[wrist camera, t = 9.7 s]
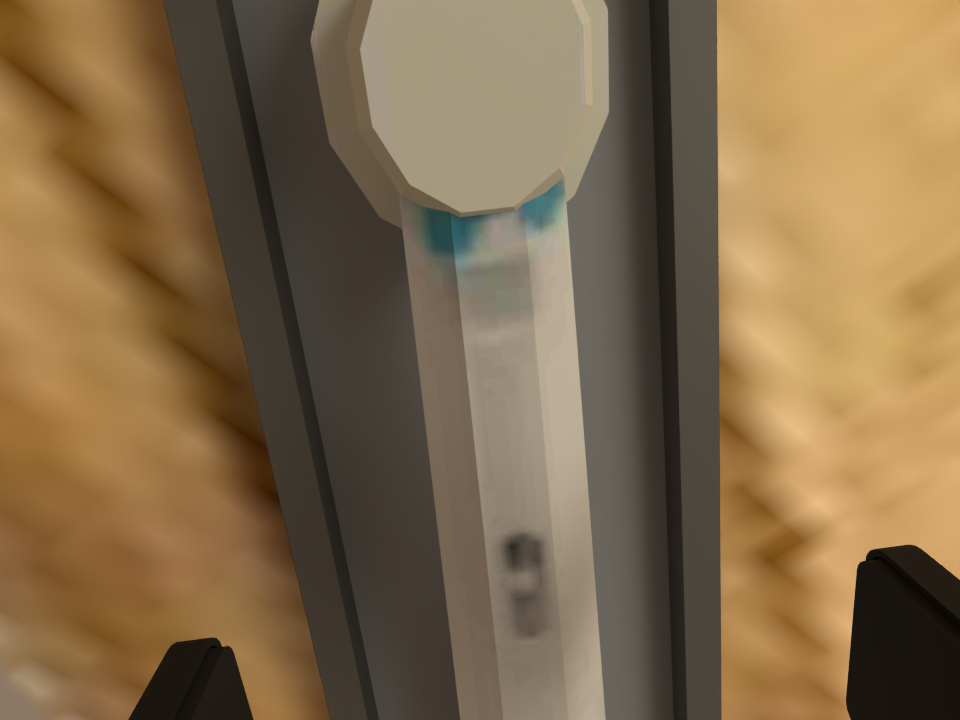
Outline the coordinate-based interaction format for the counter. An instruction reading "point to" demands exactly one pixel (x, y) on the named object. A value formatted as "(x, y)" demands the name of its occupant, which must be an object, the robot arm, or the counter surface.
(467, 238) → the white electric toothbrush
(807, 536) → the counter surface
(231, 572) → the counter surface
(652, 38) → the pipe jig board
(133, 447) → the counter surface
